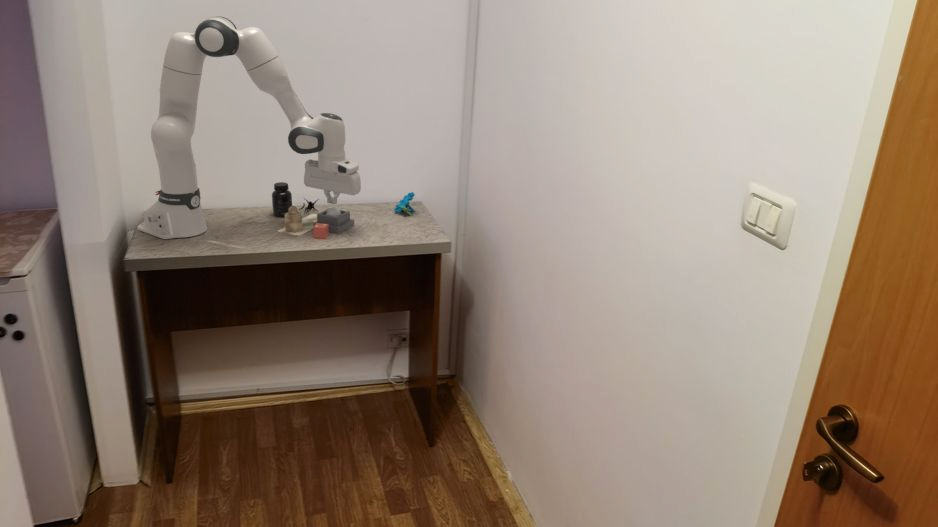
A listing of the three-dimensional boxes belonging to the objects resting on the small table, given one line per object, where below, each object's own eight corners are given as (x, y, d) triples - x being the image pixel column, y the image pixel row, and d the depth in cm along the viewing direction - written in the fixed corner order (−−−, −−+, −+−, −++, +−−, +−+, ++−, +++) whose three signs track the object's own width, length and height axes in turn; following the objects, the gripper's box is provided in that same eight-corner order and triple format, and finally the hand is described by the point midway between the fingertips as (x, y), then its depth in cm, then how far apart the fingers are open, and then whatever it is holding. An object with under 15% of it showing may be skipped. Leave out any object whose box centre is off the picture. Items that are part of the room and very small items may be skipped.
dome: (323, 222, 242) (322, 208, 241) (331, 217, 247) (331, 204, 245) (336, 224, 241) (336, 211, 239) (344, 220, 245) (344, 206, 243)
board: (275, 233, 239) (275, 230, 239) (310, 215, 257) (310, 213, 257) (326, 243, 233) (326, 241, 232) (359, 224, 251) (359, 222, 250)
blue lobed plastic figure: (394, 202, 271) (413, 186, 267) (405, 213, 273) (424, 197, 269) (391, 215, 261) (410, 199, 257) (402, 226, 263) (422, 210, 260)
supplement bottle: (271, 214, 257) (269, 181, 252) (291, 212, 259) (289, 180, 255) (274, 220, 251) (272, 187, 246) (294, 218, 253) (292, 186, 249)
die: (313, 238, 235) (313, 226, 233) (317, 234, 238) (316, 222, 237) (325, 239, 234) (324, 227, 233) (328, 235, 238) (328, 223, 236)
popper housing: (313, 231, 242) (312, 214, 240) (329, 222, 251) (328, 206, 249) (338, 236, 239) (338, 219, 237) (354, 227, 248) (353, 211, 245)
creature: (316, 219, 257) (323, 208, 263) (314, 206, 254) (321, 195, 260) (295, 217, 258) (302, 206, 264) (293, 204, 255) (300, 194, 261)
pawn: (285, 231, 239) (284, 206, 236) (292, 227, 243) (291, 203, 239) (295, 233, 238) (294, 208, 235) (302, 229, 241) (301, 205, 238)
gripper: (299, 160, 237) (300, 200, 242) (353, 170, 230) (353, 210, 235) (310, 156, 242) (311, 195, 247) (363, 165, 235) (362, 205, 241)
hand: (332, 203), depth 241 cm, fingers closed
